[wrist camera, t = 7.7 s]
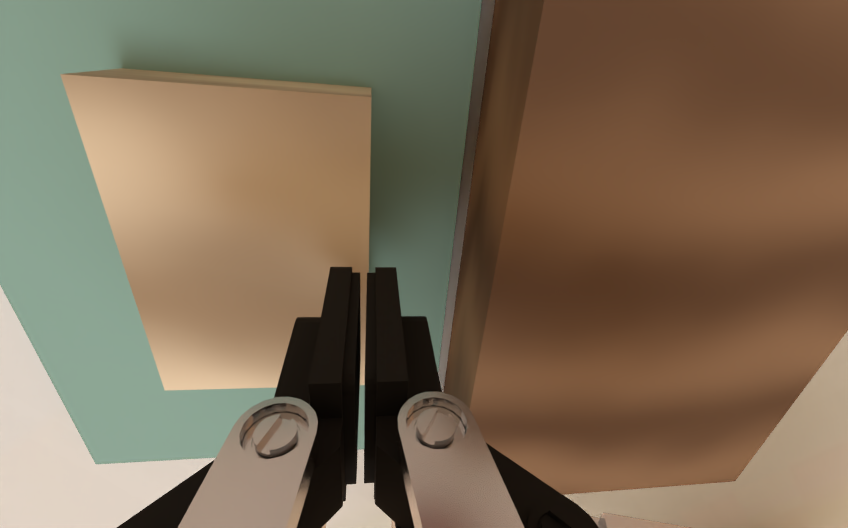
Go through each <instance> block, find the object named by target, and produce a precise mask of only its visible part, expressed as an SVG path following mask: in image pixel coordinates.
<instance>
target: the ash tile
mask: <svg viewBox="0 0 848 528" xmlns="http://www.w3.org/2000/svg"><path fill="white" fill-rule="evenodd" d="M60 75H61V78H62V81H63V84H64V87H65V90H66V93H67V96H68V99H69V102H70V105H71V108H72V112H73V115H74V118H75V121H76V124H77V127H78V130H79V133H80V136H81V139H82V142H83V145H84V148H85V151H86V154H87V157H88V160H89V163H90V166H91V169H92V172H93V175H94V178H95V181H96V184H97V187H98V190H99V193H100V196H101V199H102V202H103V205H104V208H105V211H106V214H107V217H108V220H109V223H110V226H111V229H112V232H113V236H114V239H115V242H116V245H117V248H118V251H119V254H120V257H121V260H122V263H123V266H124V269H125V272H126V275H127V278H128V281H129V284H130V287H131V290H132V293H133V296H134V299H135V302H136V305H137V308H138V311H139V314H140V317H141V320H142V323H143V326H144V329H145V332H146V335H147V338H148V341H149V344H150V347H151V350H152V353H153V356H154V360H155V363H156V366H157V369H158V372H159V375H160V378H161V381H162V384H163V387H164V390H165V391H166V390H202V389H239V388H276V387H277V385H278V381H279V377H280V374H281V370H282V367H283V363H284V359H285V356H286V352H287V349H288V345H289V341H290V338H291V334H292V331H293V327H294V323H295V321H296V318H297V317H321V314H322V309H323V303H324V298H325V292H326V287H327V282H328V276H329V271H330V267H352V272H360V308H361V363H360V385H365V340H366V295H367V273H369V222H370V156H371V90H372V88H370V87H357V86H344V85H331V84H318V83H305V82H292V81H279V80H267V79H254V78H241V77H228V76H215V75H202V74H189V73H176V72H163V71H150V70H137V69H124V68H119V69H109V70H99V71H88V72H78V73H68V74H60Z"/></svg>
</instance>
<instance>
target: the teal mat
mask: <svg viewBox="0 0 848 528" xmlns="http://www.w3.org/2000/svg"><path fill="white" fill-rule="evenodd" d="M481 4H482V0H0V285H1V287H2V289H3V291H4V293H5V294H6V296H7V298H8V300H9V302H10V304H11V306H12V308H13V310H14V311H15V313H16V315H17V317H18V319H19V321H20V323H21V325H22V326H23V328H24V330H25V332H26V334H27V336H28V338H29V340H30V341H31V343H32V345H33V347H34V349H35V351H36V353H37V355H38V356H39V358H40V360H41V362H42V364H43V366H44V368H45V370H46V371H47V373H48V375H49V377H50V379H51V381H52V383H53V385H54V387H55V388H56V390H57V392H58V394H59V396H60V398H61V400H62V402H63V403H64V405H65V407H66V409H67V411H68V413H69V415H70V417H71V418H72V420H73V422H74V424H75V426H76V428H77V430H78V432H79V433H80V435H81V437H82V439H83V441H84V443H85V445H86V447H87V448H88V450H89V452H90V454H91V456H92V458H93V460H94V462H95V464H109V463H127V462H145V461H163V460H180V459H198V458H216V457H217V455H218V453H219V451H220V449H221V447H222V446H223V444H224V442H225V440H226V438H227V437H228V435H229V433H230V431H231V429H232V427H233V426H234V424H235V423H236V422H237V420H238V419H239V418H240V416H241V415H242V414H243V413H245V412H246V411H247V410H248V409H249V408H251V407H252V406H254V405H256V404H258V403H260V402H262V401H264V400H268V399H271V398H274V396H275V392H276V388H277V387H276V388H239V389H202V390H166V391H165V390H164V387H163V384H162V381H161V378H160V375H159V372H158V369H157V366H156V363H155V360H154V356H153V353H152V350H151V347H150V344H149V341H148V338H147V335H146V332H145V329H144V326H143V323H142V320H141V317H140V314H139V311H138V308H137V305H136V302H135V299H134V296H133V293H132V290H131V287H130V284H129V281H128V278H127V275H126V272H125V269H124V266H123V263H122V260H121V257H120V254H119V251H118V248H117V245H116V242H115V239H114V236H113V232H112V229H111V226H110V223H109V220H108V217H107V214H106V211H105V208H104V205H103V202H102V199H101V196H100V193H99V190H98V187H97V184H96V181H95V178H94V175H93V172H92V169H91V166H90V163H89V160H88V157H87V154H86V151H85V148H84V145H83V142H82V139H81V136H80V133H79V130H78V127H77V124H76V121H75V118H74V115H73V112H72V108H71V105H70V102H69V99H68V96H67V93H66V90H65V87H64V84H63V81H62V78H61V75H60V74H68V73H78V72H88V71H99V70H109V69H119V68H124V69H137V70H150V71H163V72H176V73H189V74H202V75H215V76H228V77H241V78H254V79H267V80H279V81H292V82H305V83H318V84H331V85H344V86H357V87H370V88H372V90H371V156H370V222H369V273H375V267H396V271H397V280H398V289H399V299H400V308H401V316H426V317H427V321H428V326H429V331H430V336H431V341H432V346H433V351H434V356H435V361H436V366H437V371H438V368H439V359H440V351H441V342H442V334H443V326H444V317H445V309H446V300H447V292H448V283H449V275H450V266H451V258H452V250H453V241H454V233H455V224H456V216H457V207H458V199H459V190H460V182H461V173H462V165H463V157H464V148H465V140H466V131H467V123H468V114H469V106H470V97H471V89H472V80H473V72H474V64H475V55H476V47H477V38H478V30H479V21H480V13H481ZM364 402H365V385H360V391H359V419H358V447H357V449H364Z"/></svg>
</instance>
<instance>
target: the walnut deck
mask: <svg viewBox="0 0 848 528" xmlns="http://www.w3.org/2000/svg"><path fill="white" fill-rule="evenodd" d="M847 330H848V0H495V7H494V15H493V22H492V30H491V38H490V45H489V53H488V60H487V68H486V75H485V83H484V91H483V98H482V106H481V113H480V121H479V128H478V136H477V144H476V151H475V159H474V166H473V174H472V181H471V189H470V197H469V204H468V212H467V219H466V227H465V234H464V242H463V250H462V257H461V265H460V272H459V280H458V287H457V295H456V302H455V310H454V318H453V325H452V333H451V340H450V348H449V355H448V363H447V371H446V378H445V386H444V393H447V394H450V395H452V396H454V397H456V398H458V399H460V400H461V401H462V402H463V403H464V404H466V405H467V406H468V408H469V409H470V411H471V412H472V414H473V416H474V418H475V420H476V422H477V424H478V427H479V429H480V431H481V433H482V435H483V438H484V440H485V442H486V443H487V444H489V445H490V446H492V447H493V448H494V449H496V450H497V451H499V452H500V453H502V454H503V455H505V456H506V457H508V458H509V459H511V460H512V461H514V462H515V463H517V464H518V465H519V466H521V467H522V468H524V469H525V470H527V471H528V472H530V473H531V474H533V475H534V476H536V477H537V478H539V479H540V480H542V481H543V482H544V483H546V484H547V485H549V486H550V487H552V488H553V489H555V490H556V491H558V492H559V493H561V494H574V493H587V492H600V491H613V490H626V489H639V488H652V487H665V486H678V485H691V484H704V483H717V482H730V481H735V480H736V479H737V478H738V476H739V475H740V474H741V472H742V471H743V470H744V468H745V467H746V465H747V464H748V463H749V461H750V460H751V459H752V457H753V456H754V455H755V453H756V452H757V451H758V449H759V448H760V447H761V445H762V444H763V443H764V441H765V440H766V439H767V437H768V436H769V435H770V433H771V432H772V431H773V429H774V428H775V427H776V425H777V424H778V423H779V421H780V420H781V419H782V417H783V416H784V415H785V413H786V412H787V411H788V409H789V408H790V407H791V405H792V404H793V403H794V401H795V400H796V399H797V397H798V396H799V395H800V393H801V392H802V391H803V389H804V388H805V387H806V385H807V384H808V383H809V381H810V380H811V379H812V377H813V376H814V375H815V373H816V372H817V371H818V369H819V368H820V367H821V365H822V364H823V363H824V361H825V360H826V359H827V357H828V356H829V354H830V353H831V352H832V350H833V349H834V348H835V346H836V345H837V344H838V342H839V341H840V340H841V338H842V337H843V336H844V334H845V333H846V332H847Z"/></svg>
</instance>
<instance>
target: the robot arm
mask: <svg viewBox="0 0 848 528" xmlns="http://www.w3.org/2000/svg"><path fill="white" fill-rule="evenodd" d="M360 363H361V308H360V272H352V267H330V271H329V276H328V282H327V287H326V292H325V298H324V303H323V309H322V314H321V317H297V318H296V321H295V323H294V327H293V331H292V334H291V338H290V341H289V345H288V349H287V352H286V356H285V359H284V363H283V367H282V370H281V374H280V377H279V381H278V385H277V388H276V392H275V396H274V398H271V399H268V400H264V401H262V402H260V403H258V404H256V405H254V406H252V407H251V408H249V409H248V410H247V411H246V412H245V413H243V414H242V415H241V416H240V418H239V419H238V420H237V422H236V423H235V424H234V426H233V427H232V429H231V431H230V433H229V435H228V437H227V438H226V440H225V442H224V444H223V446H222V447H221V449H220V451H219V453H218V455H217V457H216V458H215V460H214V461H212V462H211V463H209V464H208V465H206V466H205V467H204V468H202V469H201V470H199V471H198V472H196V473H195V474H193V475H192V476H191V477H189V478H188V479H186V480H185V481H183V482H182V483H180V484H179V485H178V486H176V487H175V488H173V489H172V490H170V491H169V492H168V493H166V494H165V495H163V496H162V497H160V498H159V499H157V500H156V501H155V502H153V503H152V504H150V505H149V506H147V507H146V508H144V509H143V510H142V511H140V512H139V513H137V514H136V515H134V516H133V517H131V518H130V519H129V520H127V521H126V522H124V523H123V524H121V525H120V526H119V527H117V528H326V523H327V522H328V521H329V520H330V519H331V517H332V516H333V515H334V514H335V513H336V512H337V511H338V510H339V509H340V508H341V507H342V506H343V501H345V500H346V484H356V474H357V447H358V419H359V391H360ZM364 483H374V499H375V504H376V505H377V506H378V507H379V508H380V509H381V510H382V511H383V512H384V513H385V514H387V515H388V516H389V517H390V518H391V522H392V528H690V527H685V526H679V525H673V524H667V523H661V522H655V521H650V520H644V519H638V518H632V517H626V516H620V515H615V514H609V513H603V514H602V516H601V518H598V517H592V516H590V515H589V514H587V513H586V512H585V511H584V510H583V509H582V508H580V507H579V506H578V505H577V504H575V503H574V502H572V501H571V500H569V499H568V498H567V497H565V496H564V495H562V494H561V493H559V492H558V491H556V490H555V489H553V488H552V487H550V486H549V485H547V484H546V483H544V482H543V481H542V480H540V479H539V478H537V477H536V476H534V475H533V474H531V473H530V472H528V471H527V470H525V469H524V468H522V467H521V466H519V465H518V464H517V463H515V462H514V461H512V460H511V459H509V458H508V457H506V456H505V455H503V454H502V453H500V452H499V451H497V450H496V449H494V448H493V447H492V446H490V445H489V444H487V443H486V442H485V440H484V438H483V435H482V433H481V431H480V429H479V427H478V424H477V422H476V420H475V418H474V416H473V414H472V412H471V411H470V409H469V408H468V406H467V405H466V404H464V403H463V402H462V401H461V400H460V399H458V398H456V397H454V396H452V395H450V394H447V393H442V391H441V386H440V381H439V376H438V371H437V366H436V361H435V356H434V351H433V346H432V341H431V336H430V331H429V326H428V321H427V317H426V316H401V308H400V299H399V289H398V280H397V271H396V267H375V273H367V295H366V340H365V402H364Z"/></svg>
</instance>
